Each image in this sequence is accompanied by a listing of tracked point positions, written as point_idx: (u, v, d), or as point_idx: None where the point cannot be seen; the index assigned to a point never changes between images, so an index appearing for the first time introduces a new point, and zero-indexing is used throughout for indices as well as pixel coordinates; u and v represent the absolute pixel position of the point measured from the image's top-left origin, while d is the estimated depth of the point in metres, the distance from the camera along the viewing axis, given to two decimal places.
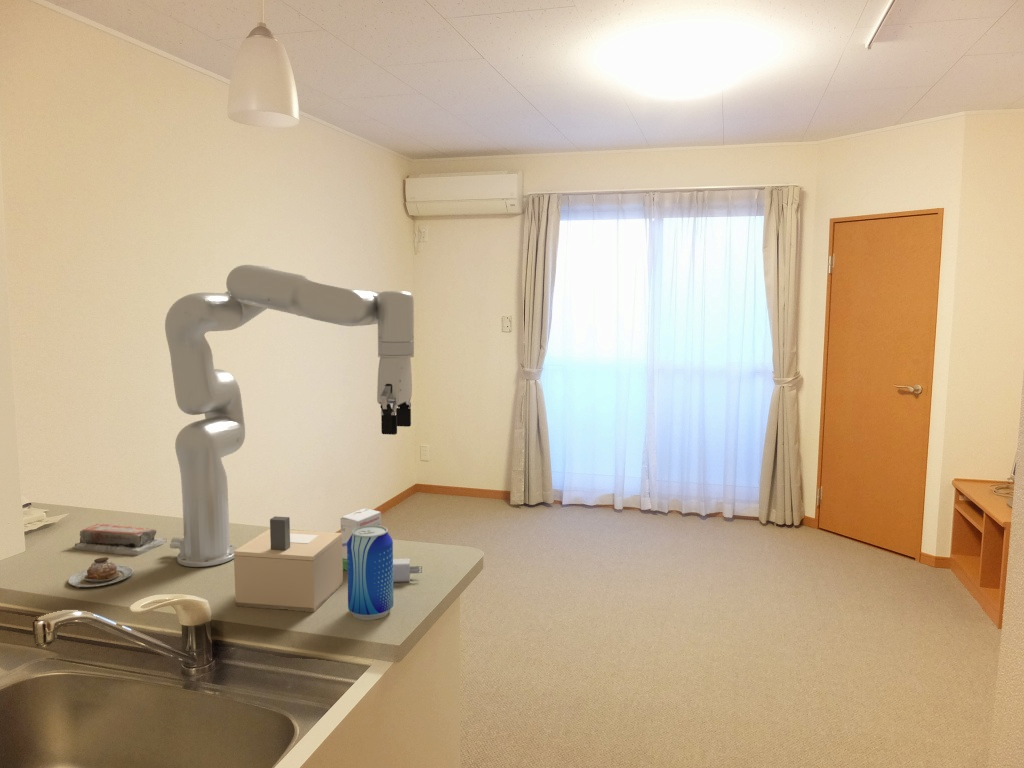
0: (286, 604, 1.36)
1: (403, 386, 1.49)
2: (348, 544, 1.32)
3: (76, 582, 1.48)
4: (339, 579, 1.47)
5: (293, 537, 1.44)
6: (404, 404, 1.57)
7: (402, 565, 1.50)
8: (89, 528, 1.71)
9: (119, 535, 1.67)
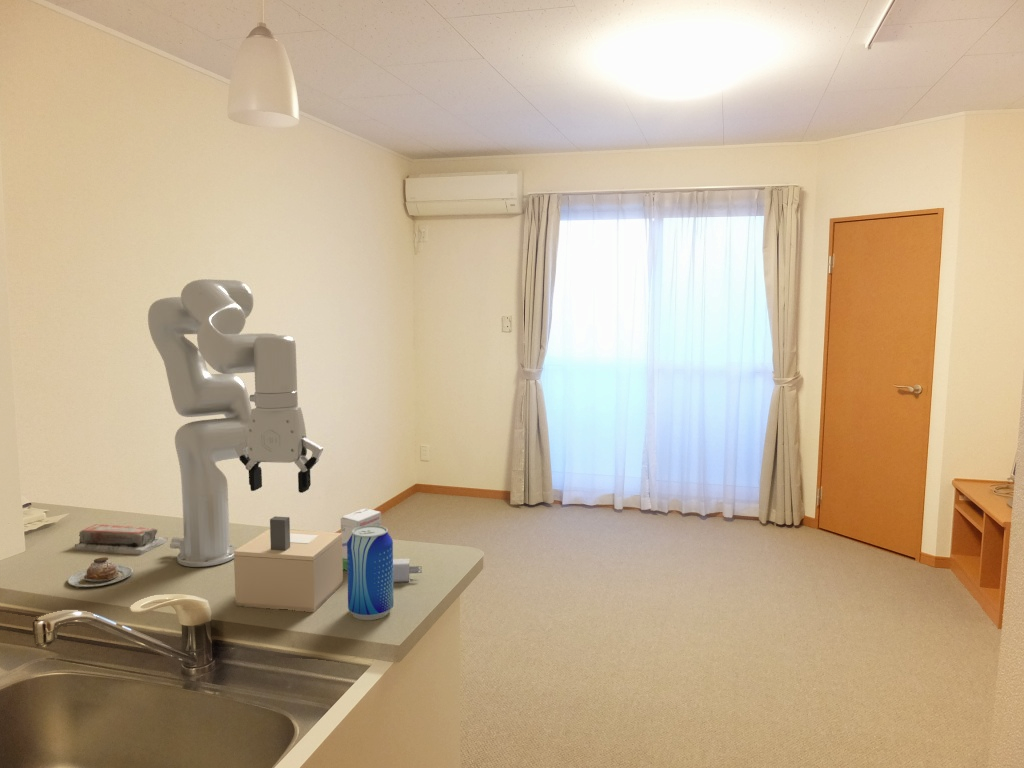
0: (286, 604, 1.36)
1: None
2: (348, 544, 1.32)
3: (75, 582, 1.48)
4: (339, 579, 1.47)
5: (293, 537, 1.44)
6: (255, 464, 1.37)
7: (402, 565, 1.50)
8: (88, 528, 1.70)
9: (120, 535, 1.68)
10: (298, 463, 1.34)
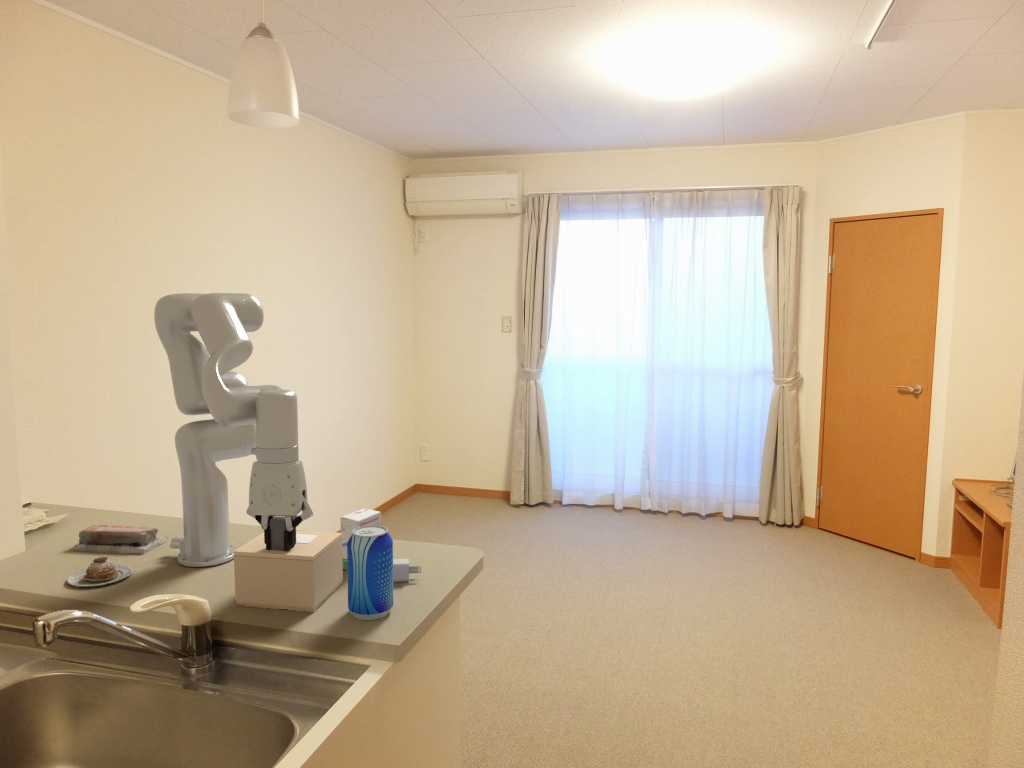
0: (286, 604, 1.36)
1: None
2: (348, 544, 1.32)
3: (75, 582, 1.48)
4: (339, 579, 1.47)
5: None
6: None
7: (401, 565, 1.50)
8: (88, 529, 1.70)
9: (122, 534, 1.68)
10: (287, 521, 1.36)
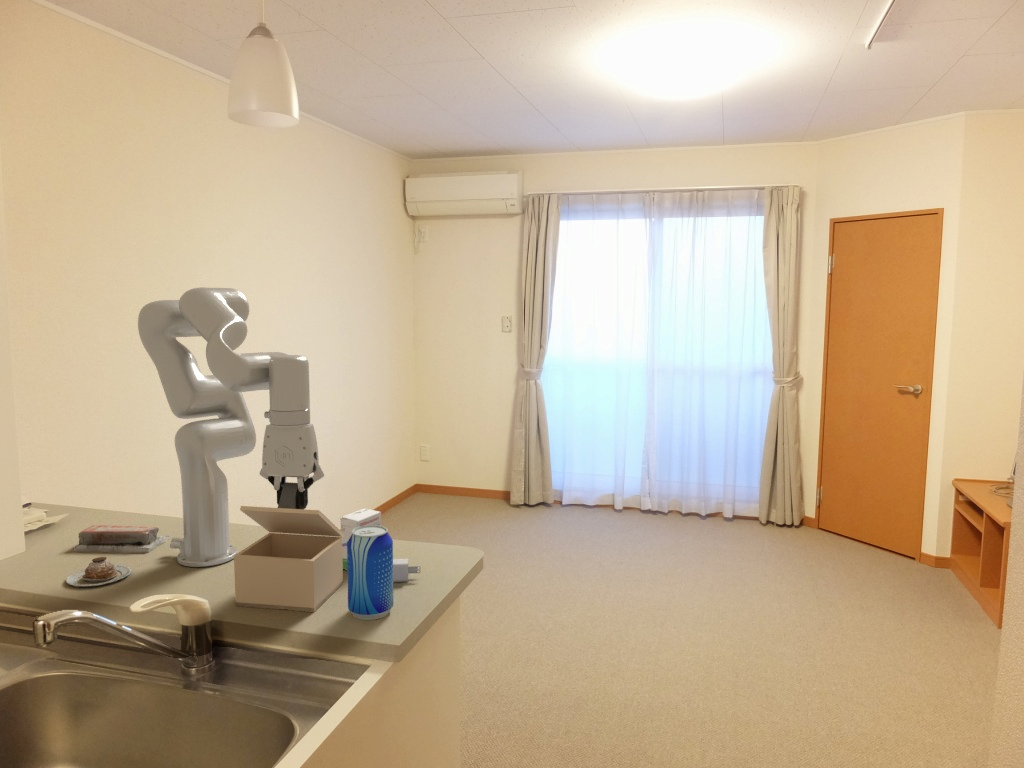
0: (286, 604, 1.36)
1: None
2: (348, 544, 1.32)
3: (74, 582, 1.48)
4: (339, 579, 1.47)
5: None
6: (283, 484, 1.43)
7: (401, 565, 1.50)
8: (88, 530, 1.70)
9: (124, 534, 1.68)
10: (299, 482, 1.41)
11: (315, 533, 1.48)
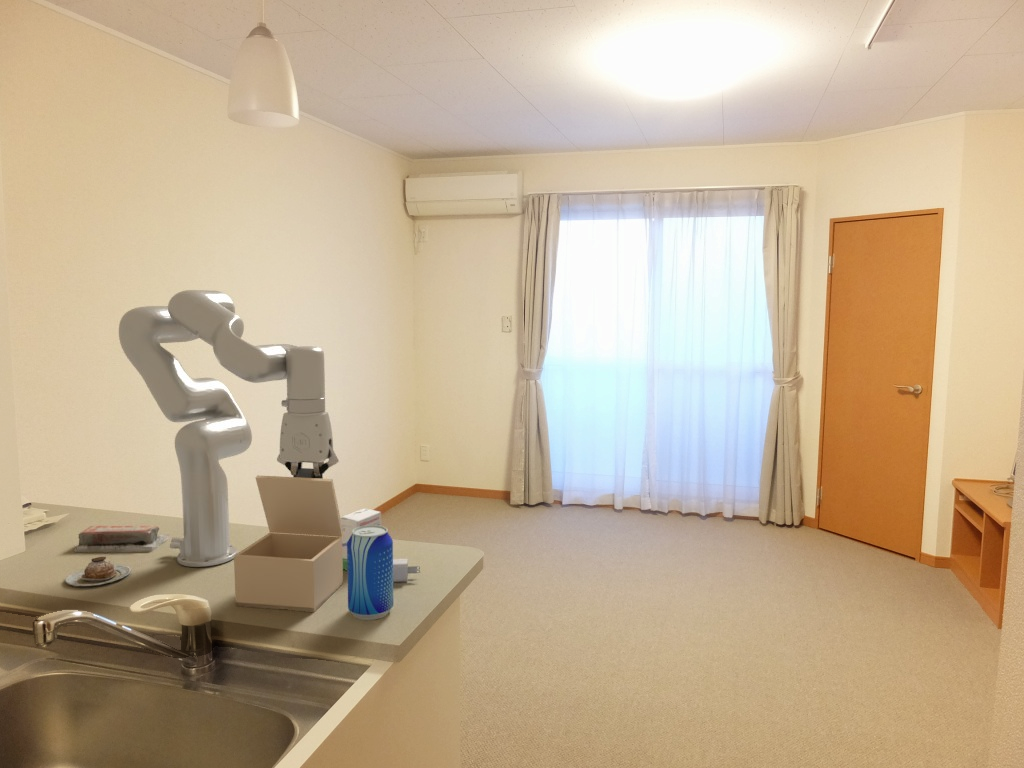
0: (286, 604, 1.36)
1: None
2: (348, 544, 1.32)
3: (73, 581, 1.48)
4: (339, 579, 1.47)
5: None
6: (299, 469, 1.50)
7: (400, 565, 1.50)
8: (87, 530, 1.69)
9: (126, 534, 1.68)
10: (315, 467, 1.48)
11: (316, 530, 1.48)
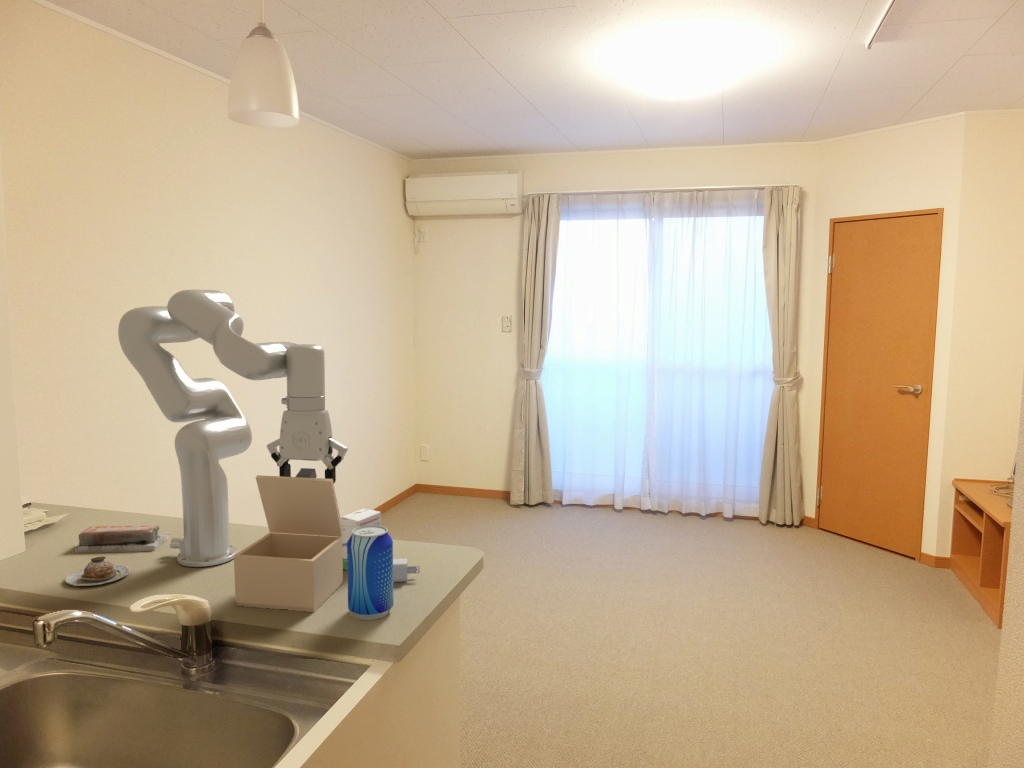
0: (286, 604, 1.36)
1: None
2: (348, 544, 1.32)
3: (73, 581, 1.48)
4: (339, 579, 1.47)
5: None
6: (285, 461, 1.50)
7: (400, 565, 1.50)
8: (87, 531, 1.69)
9: (127, 533, 1.69)
10: (325, 461, 1.47)
11: (316, 530, 1.48)
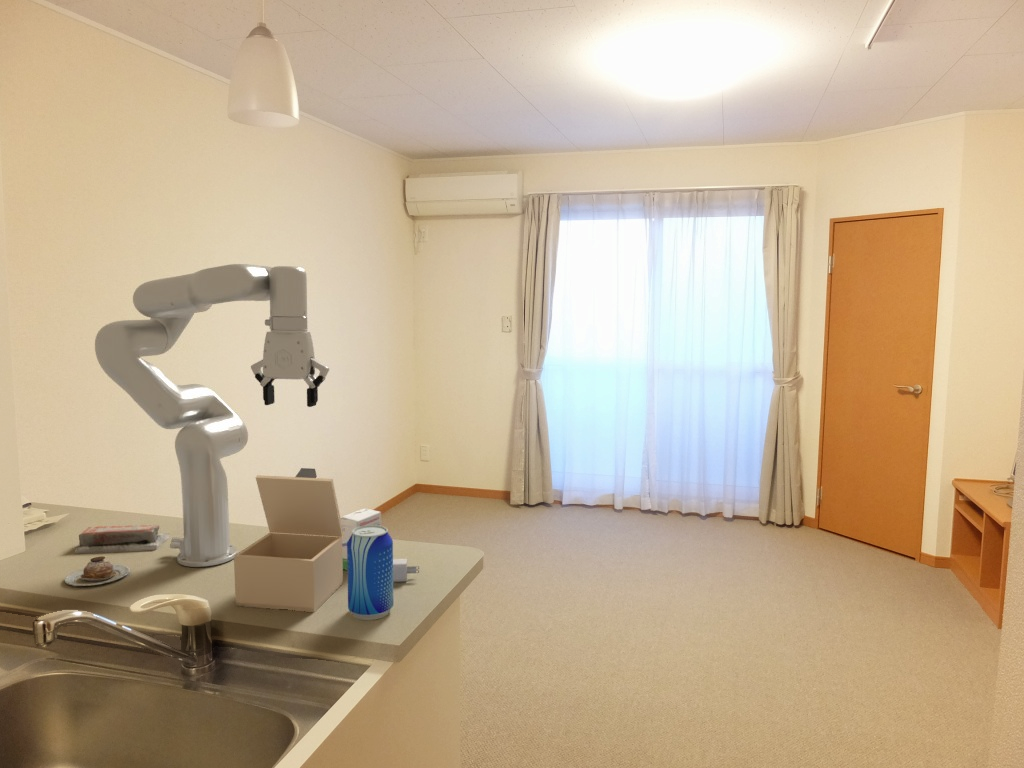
0: (286, 604, 1.36)
1: None
2: (348, 544, 1.32)
3: (72, 581, 1.48)
4: (339, 579, 1.47)
5: None
6: (269, 381, 1.54)
7: (399, 565, 1.50)
8: (87, 531, 1.68)
9: (129, 533, 1.69)
10: (307, 380, 1.51)
11: (316, 530, 1.48)
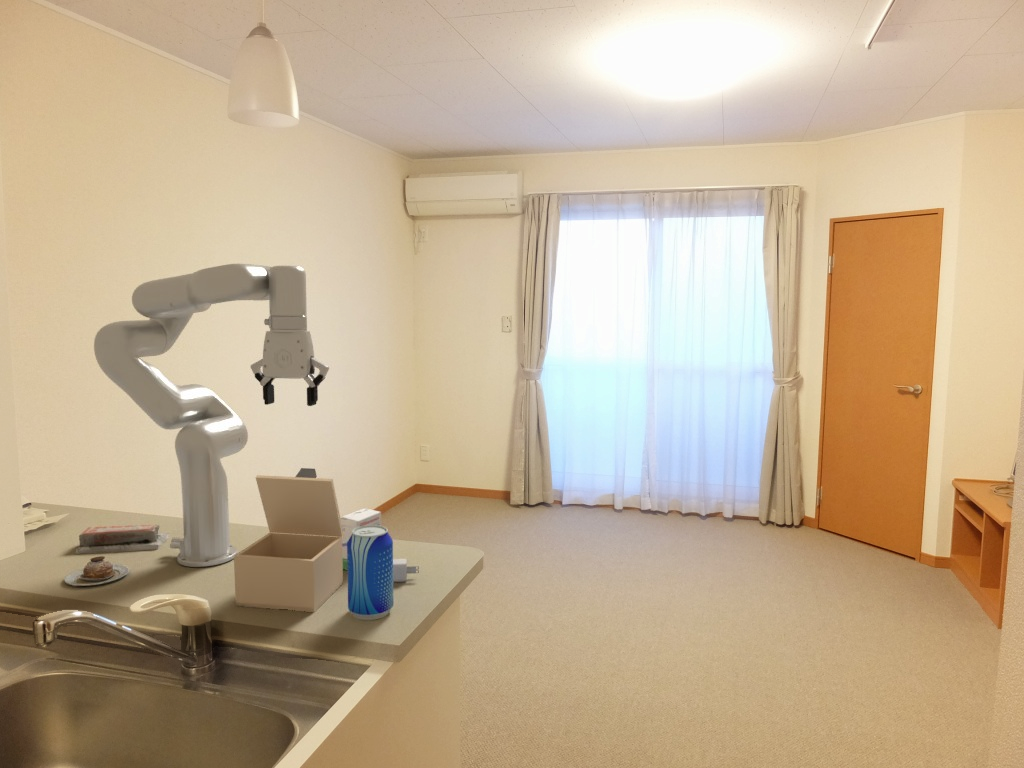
0: (286, 604, 1.36)
1: None
2: (348, 544, 1.32)
3: (72, 581, 1.48)
4: (339, 579, 1.47)
5: None
6: (268, 381, 1.54)
7: (399, 565, 1.50)
8: (87, 531, 1.68)
9: (129, 533, 1.69)
10: (307, 379, 1.51)
11: (316, 530, 1.48)
